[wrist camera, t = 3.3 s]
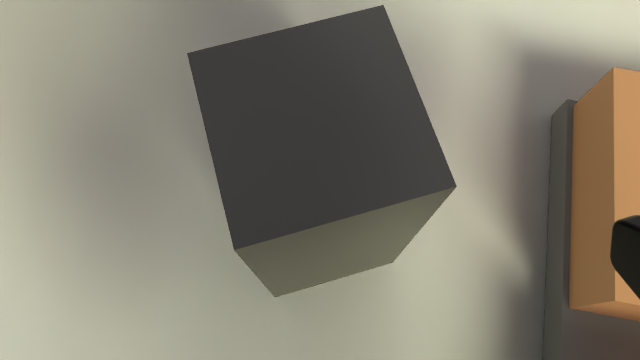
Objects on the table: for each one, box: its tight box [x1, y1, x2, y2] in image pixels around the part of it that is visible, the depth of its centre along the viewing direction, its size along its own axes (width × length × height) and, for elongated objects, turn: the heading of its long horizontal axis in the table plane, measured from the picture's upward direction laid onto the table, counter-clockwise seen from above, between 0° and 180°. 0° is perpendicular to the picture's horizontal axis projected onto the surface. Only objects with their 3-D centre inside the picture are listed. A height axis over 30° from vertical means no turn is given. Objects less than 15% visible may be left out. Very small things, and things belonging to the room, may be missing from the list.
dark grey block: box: [187, 5, 457, 297], centre depth 16 cm, size 5×5×10 cm
